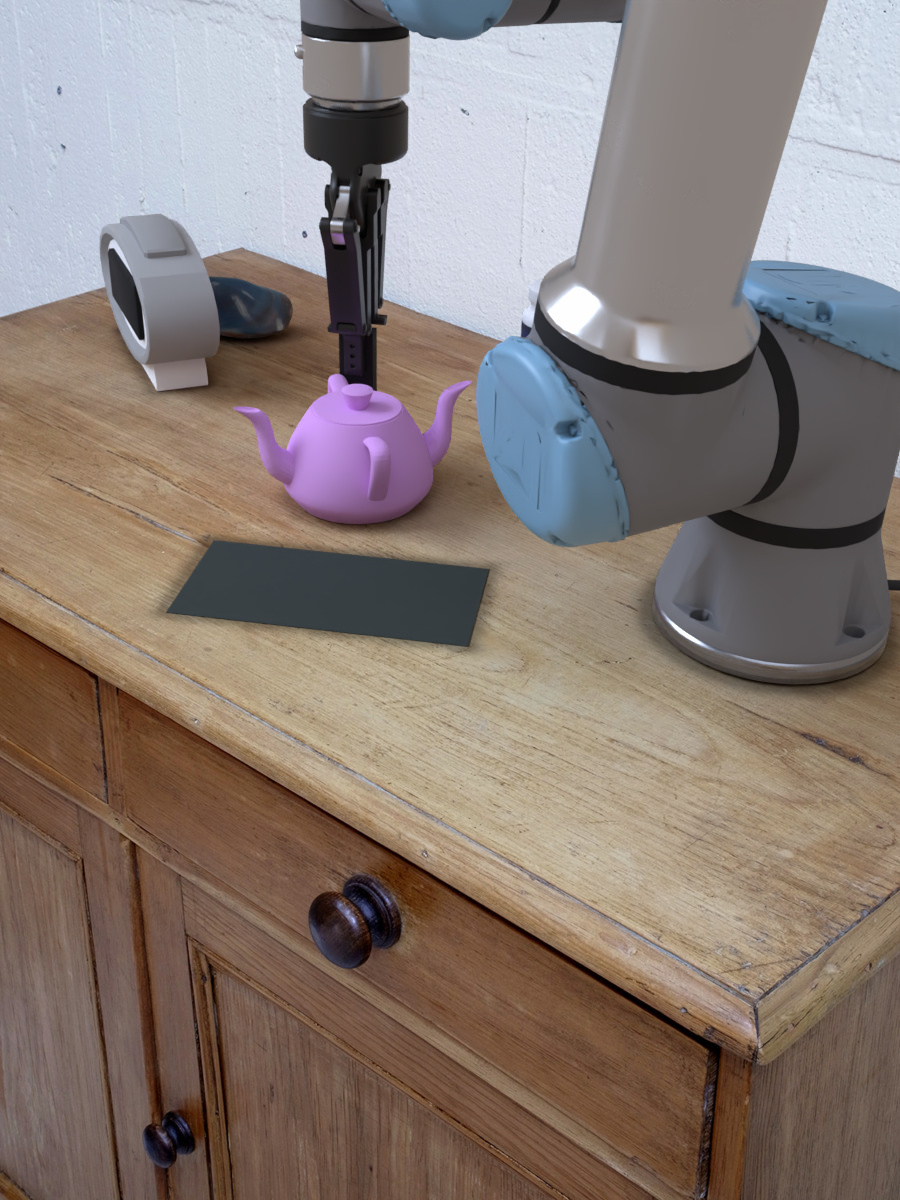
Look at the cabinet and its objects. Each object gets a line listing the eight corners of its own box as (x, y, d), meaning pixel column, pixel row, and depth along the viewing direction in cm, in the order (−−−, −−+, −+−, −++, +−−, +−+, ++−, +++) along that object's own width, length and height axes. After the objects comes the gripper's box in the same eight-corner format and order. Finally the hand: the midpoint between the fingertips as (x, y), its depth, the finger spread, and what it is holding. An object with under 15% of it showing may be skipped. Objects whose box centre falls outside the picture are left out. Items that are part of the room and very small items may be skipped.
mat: (489, 571, 92) (489, 568, 92) (468, 649, 84) (468, 646, 83) (213, 542, 94) (213, 539, 94) (166, 615, 86) (166, 612, 86)
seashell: (306, 312, 128) (260, 235, 131) (220, 338, 124) (175, 259, 127) (297, 351, 133) (254, 277, 136) (215, 377, 129) (172, 300, 132)
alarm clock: (106, 320, 133) (91, 191, 126) (167, 313, 135) (156, 187, 128) (154, 406, 114) (140, 261, 108) (224, 397, 117) (214, 254, 110)
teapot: (468, 483, 103) (473, 377, 99) (369, 555, 93) (368, 441, 88) (345, 446, 108) (343, 344, 104) (237, 511, 98) (230, 401, 94)
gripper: (326, 78, 99) (332, 372, 111) (279, 113, 88) (291, 435, 100) (424, 84, 98) (419, 380, 110) (388, 121, 87) (387, 445, 100)
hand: (358, 406), depth 105 cm, fingers closed
